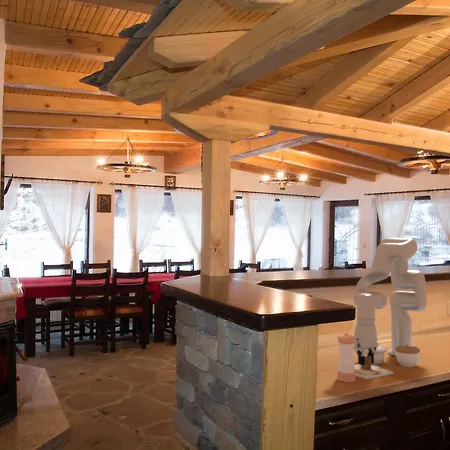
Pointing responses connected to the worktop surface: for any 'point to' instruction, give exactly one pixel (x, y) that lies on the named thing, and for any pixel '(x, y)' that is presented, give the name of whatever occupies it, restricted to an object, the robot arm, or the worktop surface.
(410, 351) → the lidded jar
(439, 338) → the worktop surface
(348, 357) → the pepper shaker
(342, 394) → the worktop surface
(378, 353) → the mushroom
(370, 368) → the lid
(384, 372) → the mat
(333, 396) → the worktop surface
